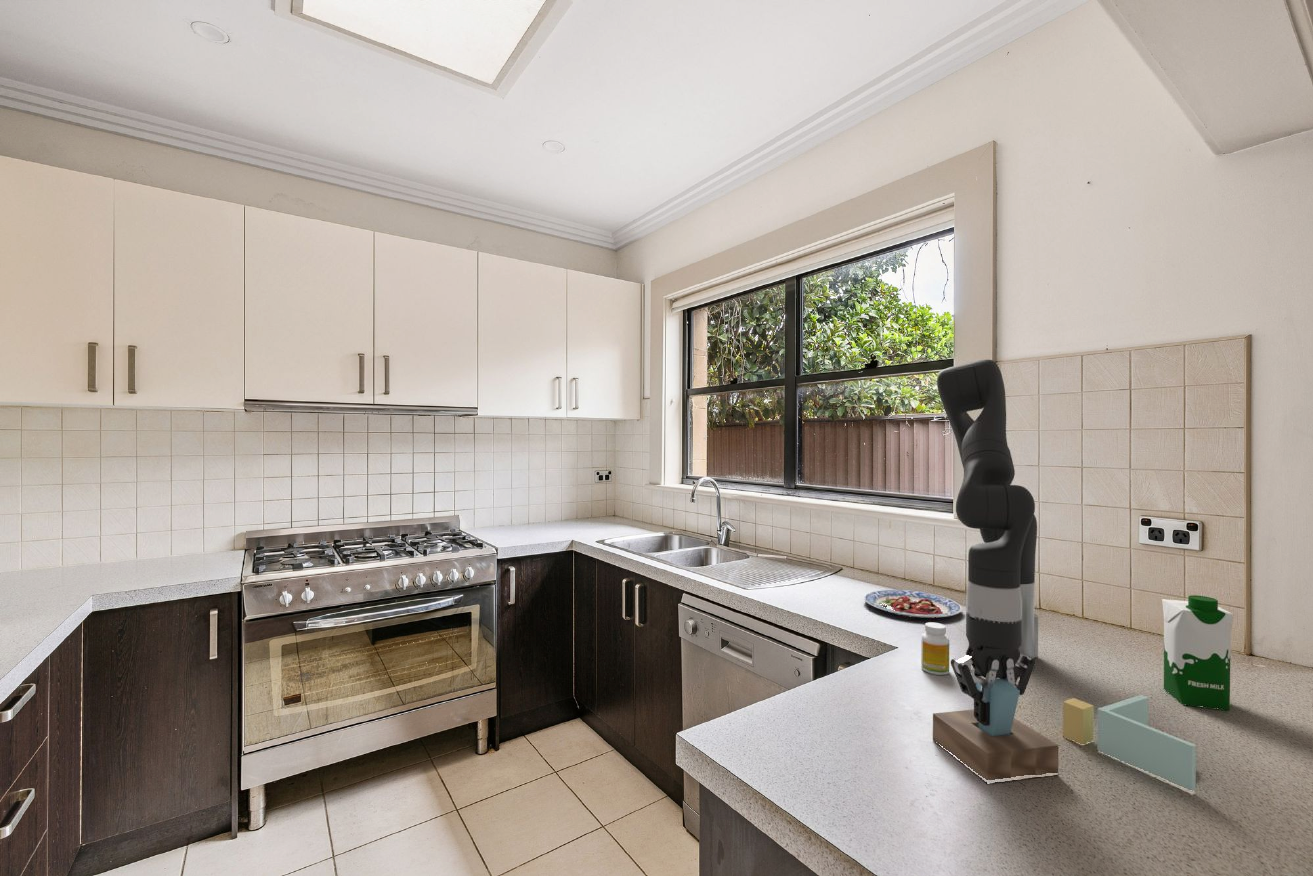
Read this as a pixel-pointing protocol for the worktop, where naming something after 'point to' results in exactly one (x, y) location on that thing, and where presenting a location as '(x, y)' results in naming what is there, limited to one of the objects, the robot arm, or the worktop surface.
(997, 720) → the long peg
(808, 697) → the worktop surface
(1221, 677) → the milk carton
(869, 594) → the ceramic plate
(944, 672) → the supplement bottle
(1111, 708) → the l-shaped corner panel
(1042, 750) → the hole block
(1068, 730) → the short peg
